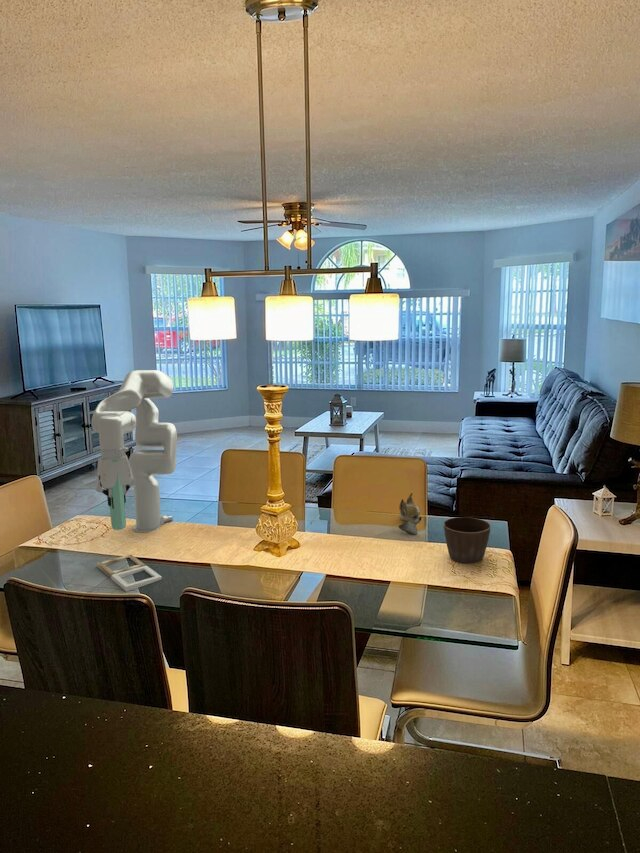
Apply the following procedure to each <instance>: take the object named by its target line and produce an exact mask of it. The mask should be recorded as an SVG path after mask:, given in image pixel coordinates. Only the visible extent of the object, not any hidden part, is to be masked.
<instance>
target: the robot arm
mask: <svg viewBox="0 0 640 853" xmlns="http://www.w3.org/2000/svg"><path fill="white" fill-rule="evenodd" d="M173 392H174V383H173V380H172V378H171V377H170V376H169V375H167V374H166V373H164V372H163V371H161V370H158V369H147V370H146V369H141V370H140V369H137V370H132V371H131V370H130V372H128V373H127V374H126V375H125V377H124V379H123V381H122V383H121V385H120V388H119V389H118V391H117V392H115V393H113V394H111V395H110V396H108V397H105V398H103V399H102V400H100V402H99V403H98V404H97V406H96V407H95V410H94V412H93V414H92V417H91V421H90V422H91V423H90V424H91V428H92V430H93V431H94V432H95V433H97V434H98V438H99V449H100V457H99V458H98V459H97V472H96V473H97V474H96V475H97V477H96V479H97V485H96V487H95V491H96V492H97V493H101V494H104V495H105V496H107V505H108V507H110V506H111V497H112V488H113V487H114V485H115V483H116V480H117V473H118V476H119V480H120V484H121V486H123V492H124V504H125V505H126V503H127V501H126V500H127V499H126V494H127V492H128V491H129V490H130V488H132V487H133V496H134V497H133V498H134V509H135V510H134V512H135V514H134V515H135V524H134V525H133V526H132V531H133V532H136V533H151V532H156V531H158V530H159V529H160V527H161V526H163V525H165V523H166V522H171V521H173V520H174V517H173V515H162V514H161V513H162V512H161V498H160V484H159V482H158V480H157V478H156V477H155V476H154V475H159V476H160V475H161V476H162V475H164V476H165V475H171V474H173V473H174V472H175V470H176V467H177V454H178V453H177V452H178V430H177V427H176V426H175V424H173V423H171V422H165V421H164V422H162V421H161V422H159V419H160V418H159V417H160V416H159V415H160V414H159V413H160V412H159V408H158V407H157V405H156V404H155V403H154V402H153V401H152V400H151V399H168V398H170V397H171V396H172V395H173ZM134 409H135V413H133V412H132V410H134ZM135 414H136V415H135ZM134 430H135V431H134ZM133 431H134V432H135V434H134V438H135V439H134V440H135V444H136V445H137V446H139V447H142V448H143V447H144V448H163V449H139V450H136V451H133V452H132V453H131V454H130V456H129V458H128V455H127V454H126V452H129V451H130V448H129V447H127V446H125V439H124V435H126V434H129V433H132V432H133ZM117 459H120V461H117V462H112V460H117ZM117 469H118V471H117ZM112 509H114V505H113V497H112Z"/></svg>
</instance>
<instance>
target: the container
mask: <svg viewBox="0 0 640 853" xmlns="http://www.w3.org/2000/svg"><path fill="white" fill-rule="evenodd" d="M117 461H120V459H117V460H112V462H117ZM117 471H118V469H117ZM112 497H113V505H114V509H112ZM112 497H111V506H109V510H110V513H109V514H110V521H111V522H110V524H111V528H112V529H113V530H114V531H120V530H124V529H125V528H126V526H127V518H126V503H125V504H124V492H123V486H121V484H120V480H119V476H118V473H117V480H116V483H115V485H114V487H113V488H112Z"/></svg>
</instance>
